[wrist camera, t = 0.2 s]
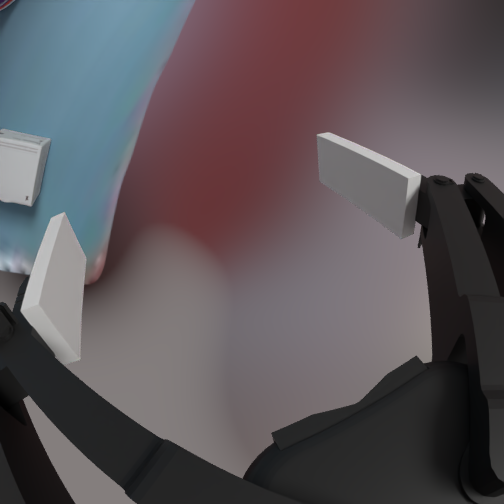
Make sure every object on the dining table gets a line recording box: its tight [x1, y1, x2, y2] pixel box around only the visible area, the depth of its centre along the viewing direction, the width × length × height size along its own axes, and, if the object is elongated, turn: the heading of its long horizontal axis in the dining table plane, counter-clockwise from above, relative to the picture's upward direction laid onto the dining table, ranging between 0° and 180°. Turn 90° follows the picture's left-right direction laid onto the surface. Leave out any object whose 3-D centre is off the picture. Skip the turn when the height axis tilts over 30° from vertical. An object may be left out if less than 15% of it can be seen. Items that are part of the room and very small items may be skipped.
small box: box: [0, 129, 51, 206], centre depth 30 cm, size 8×8×5 cm
